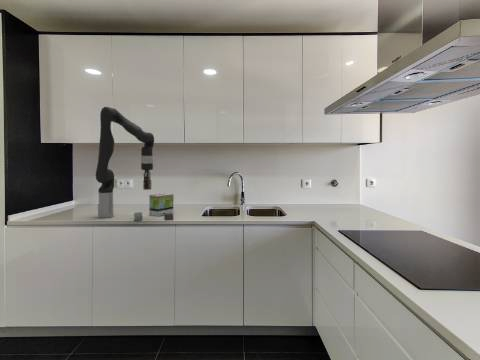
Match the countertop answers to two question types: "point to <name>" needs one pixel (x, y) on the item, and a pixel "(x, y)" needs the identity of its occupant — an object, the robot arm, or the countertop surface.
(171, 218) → the charcoal block
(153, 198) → the tea box
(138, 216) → the grey egg shape
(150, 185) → the walnut block
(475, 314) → the countertop surface
